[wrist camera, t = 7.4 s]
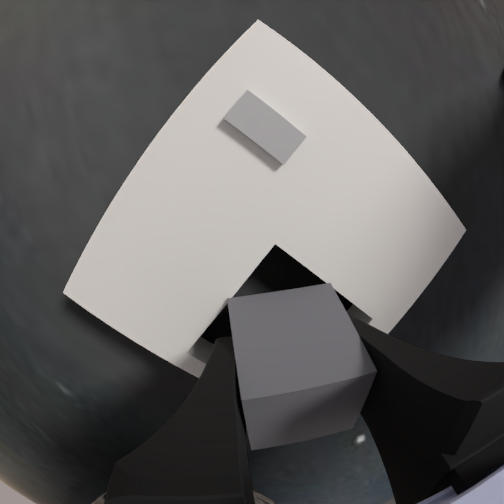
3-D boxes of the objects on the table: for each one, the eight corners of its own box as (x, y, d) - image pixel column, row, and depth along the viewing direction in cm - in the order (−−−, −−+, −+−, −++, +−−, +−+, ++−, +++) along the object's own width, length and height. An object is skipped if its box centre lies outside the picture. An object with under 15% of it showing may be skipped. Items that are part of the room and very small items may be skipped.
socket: (442, 221, 13) (470, 231, 11) (289, 399, 15) (298, 427, 13) (251, 37, 10) (259, 16, 8) (79, 275, 12) (59, 296, 10)
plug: (323, 270, 12) (377, 371, 8) (317, 336, 14) (352, 428, 10) (225, 284, 12) (241, 399, 7) (235, 350, 14) (251, 450, 9)
